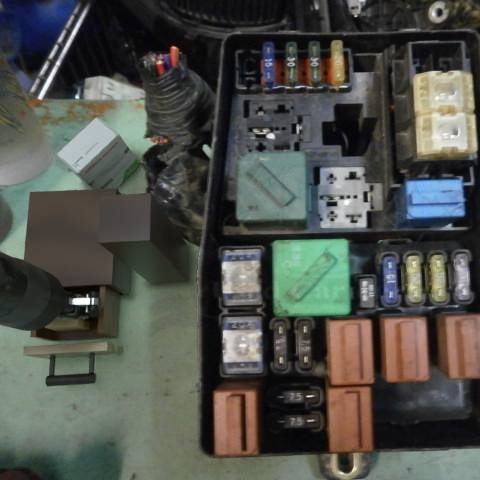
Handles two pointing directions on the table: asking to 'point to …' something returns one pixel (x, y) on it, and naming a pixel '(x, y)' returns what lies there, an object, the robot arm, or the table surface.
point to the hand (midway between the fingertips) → (74, 315)
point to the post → (143, 238)
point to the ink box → (99, 156)
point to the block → (69, 324)
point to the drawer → (81, 338)
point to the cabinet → (72, 240)
